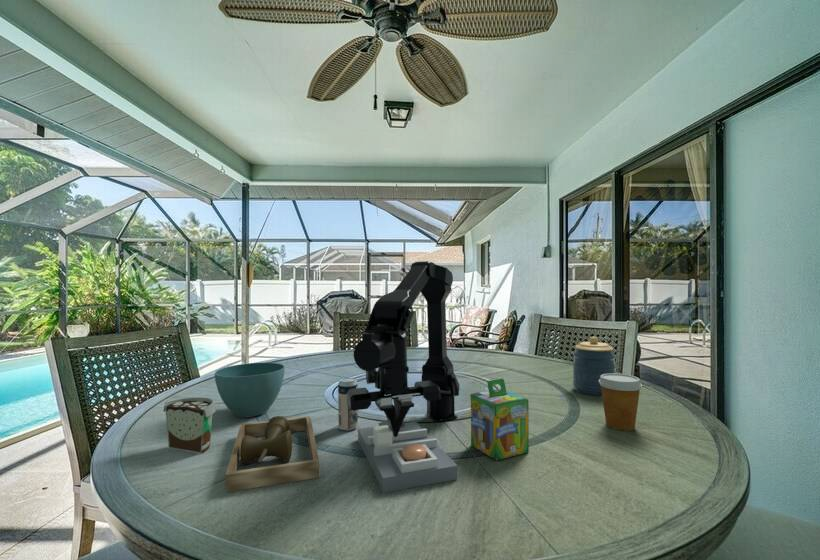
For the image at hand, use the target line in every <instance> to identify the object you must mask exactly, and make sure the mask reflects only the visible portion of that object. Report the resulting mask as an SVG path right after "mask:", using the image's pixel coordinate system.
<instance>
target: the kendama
mask: <svg viewBox="0 0 820 560" xmlns="http://www.w3.org/2000/svg"><path fill="white" fill-rule="evenodd" d="M287 419H288V418H287V417H285V416H283V415H281V416H280V415H277V416H276V415H275V416H273V417H271V418H270V419H269V420H268V421H269V422H268V423H267V427H266V429H265V435H264V436H265V438H266V439H261V438H257V437H252V436H249V435H246V436H244V438H243V440H242V443H241V449H240V462H241V465H243V466H247V465H249V464H251V463H252V462H255V461H256V460H258V462H260V463H261V462H262V461H264V459H265V457H267V458H269V457H275V458H278V459H280V460H282V461H284V462H286V463H289V462H290V461H291V459H292V453H293V435H292V432H290V430H289V421H288V420H287Z"/></svg>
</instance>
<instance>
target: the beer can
mask: <svg viewBox="0 0 820 560" xmlns="http://www.w3.org/2000/svg"><path fill="white" fill-rule="evenodd" d="M358 384H359V383H358V381H357V379H356V378H354V377H345V378H340V380H339V381H338V383H337V392H338V393H337V395H338V396H337V400H338V405H337V406H338V410H337V411H338V429H340V430H342V431H346V432H347V431H349V432H350V431H354V430H355V429H356V428H359V427H358V426H359V410H351V409H350V407H349V406H348V404H347V392H348V390H349V389H356V388H359V387H358V386H359V385H358Z"/></svg>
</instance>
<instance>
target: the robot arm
mask: <svg viewBox="0 0 820 560" xmlns="http://www.w3.org/2000/svg"><path fill="white" fill-rule="evenodd" d="M453 282H454V276H453V272H452V271H451V270H450V269H448V267H445V266H442V265H438V264H436V263H434V262H433V261H429V260H428V261H427V260H426V261H423V260H422V261H415V262H412V263H411V265H410V269H409V271H408V272H407V273H406V275H405V276H404V277H403V279H402V280H401V281H400V283H399V284H398V285H397V286H396V288H395V289H394V290H393V291H391V292H388V293H386V294H383V295H382V296H381V297H380V298H378V299H377V300H376V301H375V303H374V305H373V307H372V309H371V313H370V315H369V318H368V322H367V324H366V326H365V330H364V333H362V339H361V340H360V341H359V342H357V344H356V346H355V348H354V350H353V360H354V363H355V364H356V366H358V368H359V369H361V370H363V371H365V380H366V384H367V385H370V384H374V388H376V389H378V390H377V391H376V390H375V391H369V390H368V388H367V387H358V388H356V389H349V390H348V392H347V404H348V406H349V407H350V409H351V410H358V411H362V410H367V409H369V408H370V406H371V405H372V403H373V402H374V404H375V405H376V407H377V408H378V409H379V411H381V412H383V413H384V415H385V416H386V420H388V422H389V425H390V428H391V431H392V434H393V436H394V437H397V435H398V433H399V430H400V428H401V425H402V423H403V422H404V420H405V418H406V416H407V415H408V413H409V411H410V409H411V408H414V407H415V403H414V402H413V397H421V396H422V397H423V399H425V400H426V415H427V416H429V418H431V420H432V421H434V422H439V421H447V420H457V419H458V415H456V414H455V397H457V396H459V395H460V383H459V380H458V379H457V376H456V374H455V371H454V364H453V362H452V361H451V360H450V357H449V356H448V351H447V350H448V348H447V345H448V344H447V316H446V315H447V311H446V300H447V299H448V297H449V296H450V294H451V292H452V285H453ZM420 293H421V295H422V296H423V298H424V299H425V301H426V307H427V310H426V311H427V339H428V340H427V342H428V358H427V359H426V361H425V363H424V364H422V367H421V371H422V372H421V373H422V374H421V381H420V380H419V381H415V382H414V385H413V386H411V387H410V386H408V385H409V384H408V383H409V382H408V373H409V366H408V355H407V354H408V349H407V346H408V343H407V337H408V336H410V331H409V329H408V328H409V325H410V323H411V322H412V319H413V316H414V314H415V313H414V309H413V305H414V303H415V301H416V299H418V297H419V296H420Z"/></svg>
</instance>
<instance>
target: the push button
mask: <svg viewBox="0 0 820 560" xmlns="http://www.w3.org/2000/svg"><path fill="white" fill-rule="evenodd" d="M402 456H403V460H404V461H405V462H408V461H415V460H421V459H426V448H425V447H424V446H422V445H419V444H410V445H406V446H404V447H403V449H402Z"/></svg>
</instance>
